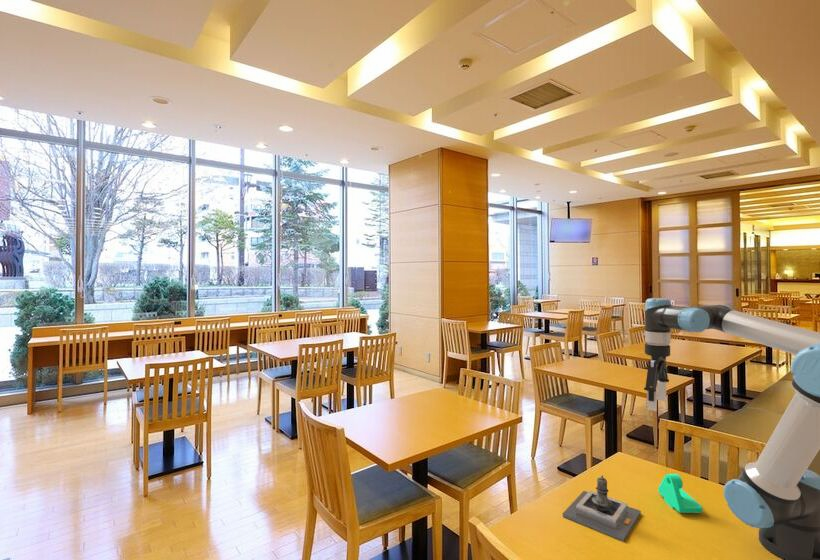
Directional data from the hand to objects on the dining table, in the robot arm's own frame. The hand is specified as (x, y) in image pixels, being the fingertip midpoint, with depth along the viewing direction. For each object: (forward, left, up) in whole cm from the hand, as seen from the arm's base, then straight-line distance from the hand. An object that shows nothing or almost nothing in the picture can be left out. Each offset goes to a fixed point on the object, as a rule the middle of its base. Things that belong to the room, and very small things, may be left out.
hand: (656, 405), depth 142 cm
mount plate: (+10, +24, -32) cm, 41 cm away
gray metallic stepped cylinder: (+10, +24, -31) cm, 40 cm away
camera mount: (-7, 0, -32) cm, 33 cm away
